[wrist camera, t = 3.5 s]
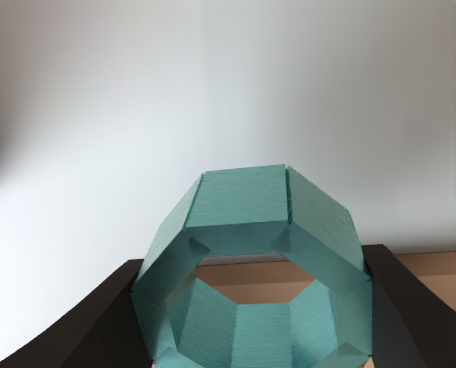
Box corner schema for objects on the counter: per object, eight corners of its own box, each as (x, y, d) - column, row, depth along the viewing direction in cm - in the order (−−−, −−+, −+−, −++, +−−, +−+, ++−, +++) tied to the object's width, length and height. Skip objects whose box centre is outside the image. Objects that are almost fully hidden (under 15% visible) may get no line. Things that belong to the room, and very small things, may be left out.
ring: (184, 325, 14) (163, 404, 12) (147, 177, 12) (111, 232, 9) (352, 319, 14) (372, 403, 11) (349, 158, 11) (372, 214, 9)
